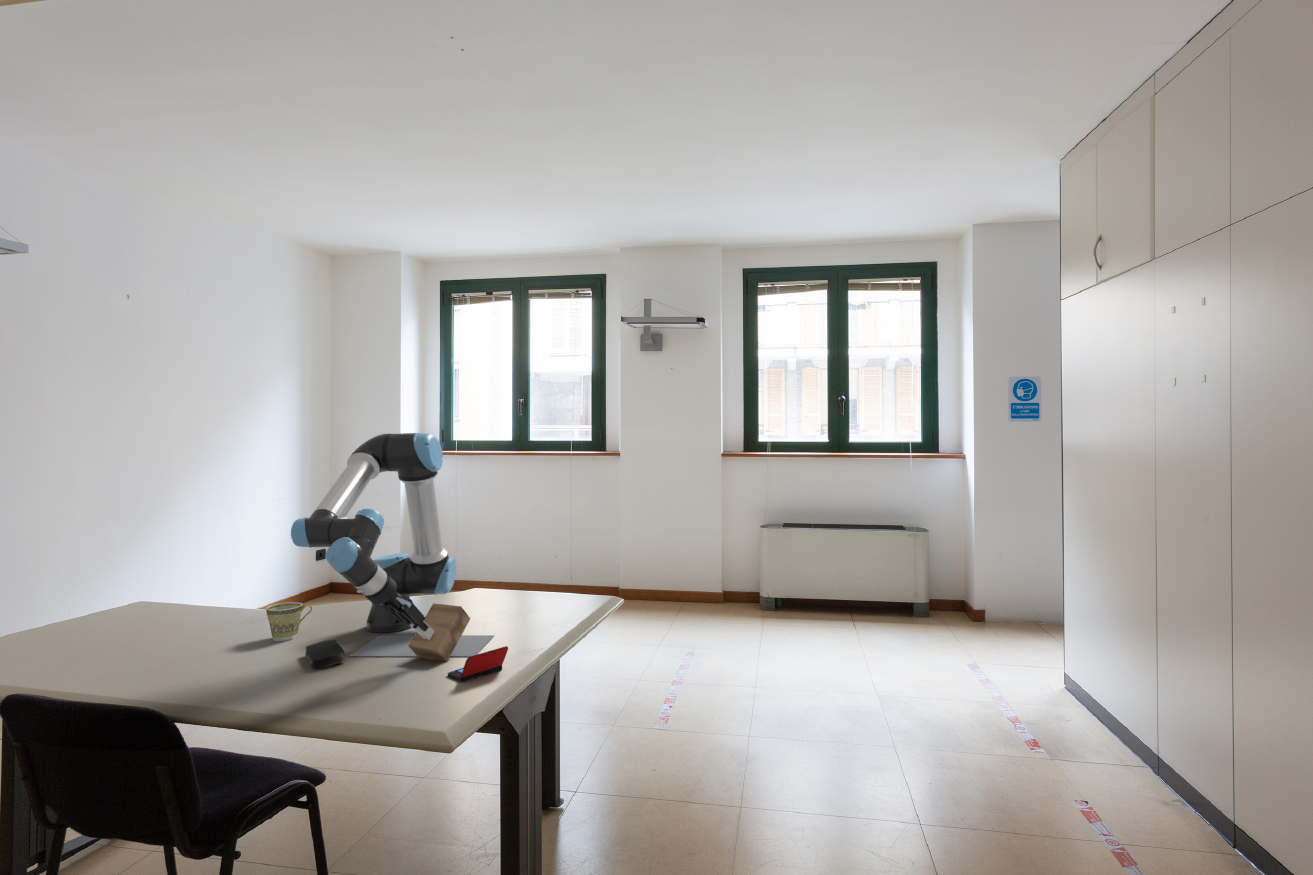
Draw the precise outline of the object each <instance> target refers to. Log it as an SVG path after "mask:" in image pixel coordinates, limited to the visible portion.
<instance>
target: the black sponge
mask: <svg viewBox="0 0 1313 875" xmlns="http://www.w3.org/2000/svg"><path fill="white" fill-rule="evenodd" d="M304 655H305V657H306V658H307V659H308V661H309V662H310V666H311V668H312V669H314V670H318V669H321V668H326V667H331V666H335V665H338V664H341V663H344V661H346V655H345V650H344V648H343V647H341V646H340V643H338V642H337V639H329V640H324V641H323V640H322V641H320V642H317V643H314V644H310V645H307V646H306V647H305V654H304Z"/></svg>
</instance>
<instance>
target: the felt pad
mask: <svg viewBox="0 0 1313 875" xmlns="http://www.w3.org/2000/svg"><path fill="white" fill-rule="evenodd" d="M414 635H415V634H414ZM414 635H413V634H412V635H411V634H409V635H408V634H407V635H401V634H399V635H398V634H397V635H396V634H395V635H393V634H392V635H389V634H388V635H387V634H386V635H385V634H383V635H381V634H380V635H378V636H377V637H375V638H373V639H372V640H371V641H369V642H367V643H366V644H365V645H363V646H362V647H360V648H358V649H356V651H354V652H353V653H352V654H350V655H349V656H348V657H349V658H419V657H418V656H417V655H416V654H415V653H414V652H413V651H412V650H411V649H410V647H409V646H408V645H409V644H410V642H411V640H412V639H413V637H414ZM494 637H495V635H494V634H493V635H492V634H491V635H487V634H485V635H483V634H482V635H481V634H480V635H478V634H477V635H476V634H475V635H471V634H470V635H469V634H468V635H467V634H466V635H465V634H462V635H461V637H460V639H459V641H458V643H457V645H456V646H455V648H454V650H453V652H452V654H451V656H450V658H469V657H471V656H474V655H477V654H480V653H481V651H482V650H483V649H484V648H485V647H486V646H487V645H488V644H489V643H490V641H491V640H492V639H494Z"/></svg>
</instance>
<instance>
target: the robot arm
mask: <svg viewBox="0 0 1313 875" xmlns="http://www.w3.org/2000/svg"><path fill="white" fill-rule="evenodd" d="M443 457H444V456H443V450H442V447H441V443H440V441H439V439H438V438H437V437H436V436H435V435H434V434H432V433H422V432H409V433H407V432H405V433H383V434H379V435H376V436H373V437H371V438H369V439H368V440H366V441H364V442H363V443H362V444H360V445H359V446H358V447H357V448H356V449H355V450H354V451H353V452H352V453H351V454H350V455H349V457H348V458H347V461H346V467H345V469H344V470H343V472H342V473H341V474H340V475H339V477H338V478H337V480H336V481H335V482H334V484H333V485H332V487H331V488H330V489H329V490H328V492H327V493H326V495H325V496H324V498H323V499H322V500H321V502H320V503H319V504H318V506H317V507H316V509H314V511H313V512H312V514H311V515H310V516H309V517H302V518H301V517H300V518H298V519H296V520H294V522H292V525H291V528H290V538H291V540H292V543H293V544H294V545H295V546H296V547H301V548H327V550H326V552H325V560H326V562H328V564H329V565H330V566H331V567H332V568H333V570H335V572H337V573H338V575H341V576H342V577H343V579H345V580H346V581H348V582H349V584H351V585H352V586H353V587H354V588H355V589H357V590H356V593H358V594H360V593H361V594H362V595H363V596H364V598H366V600H368V601H369V602H370V603H371V606H370V609H369V611H368V612H369V613H368V616H367V619H366V624H365V625H366V628H365V629H366V630H367V631H368V632H372V633H394V632H399V631H405V630H408V629H413V630H414V632H415V633H416V632H417V633H418V634H419V635H420V636H421V637H422V638H423V639H428V640H430V638H431V637H432V635H433V634H434V632H435V631H434V630H433V629H432V628H431V627H430V626H429V625H428V624H427V623H426V622H425V621H424V620H425V617H426V616H425V615H424V614H423V613H422V612H421V611H420V609H419V608H418V607H417V606H416V605H415V603H414V601H413V599H411V595H435V596H437V595H445V594H448V593H449V592H450V591H451V590H452V588H453V586H454V583H455V579H456V574H457V561H456V559H455V558H454V557H451V556H450V557H449V551H448V549H446V548H445V547H443V544H442V543H443V542H442V536H441V528H440V520H439V519H440V518H439V513H438V512H439V511H438V504H437V497H436V496H437V495H436V488H435V483H434V482H435V481H434V479H435V478H436V477H437V476H438V471H440V470H441V468H442V466H443V462H444V461H443V459H444V458H443ZM384 472H396V473H397V477H398V480H399V481H400V482H401V483H403V484H404V489H405V496H406V502H407V508H408V517H409V522H410V529H411V536H412V543H413V544H412V545H413V552H412V554H411V555H410V554H409V553H408V552H398V553H392V554H387V555H384V556H383V555H382V556H380V557H377V558H375V559H374V560H373V559H372V557H371V556H372V554H373V552H374V549H375V547H376V545H377V542H378V540H379V538H380V536H381V535H382V532H383V528H384V525H385V519H384V517H383V515H382V514H381V513H380V512H379V511H377V510H375V509H372V508H362V509H361V510H358V512H357V513H356V514H355V516H354V517H347V516H348V514H349V512H350V511H351V509H352V508H353V507H354V505H355V504H356V502H357V501H358V500H359V498H360V496H362V493H363V491H364V490H365V489H366V487H367V486H368V485H369V484H370V481H371V480H374V479H375V478H377V477H378V476H379V474H380V473H384Z"/></svg>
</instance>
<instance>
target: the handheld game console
mask: <svg viewBox="0 0 1313 875" xmlns="http://www.w3.org/2000/svg"><path fill="white" fill-rule="evenodd" d="M508 651H509V647H508V646H505V645H504V646H502V647H498V648H495V649H492V650H488V651H485V652H482V653H481V652H480V653H478V654H477V655H474V656H471V657H466V660H465V662H464V666H463V667H460V668H457V669H455V670H453V671H452V670H451V671H449V672H447V677H448V678H450V679H453V680H455V681H457V682H459V683H465V682H469V681H472V680H474V679H478V678H479V677H483V676H488V675H491V674H494V673H498V672H500V671H502V670H503V664H504V661H505V658H506V655H507V653H508Z"/></svg>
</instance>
